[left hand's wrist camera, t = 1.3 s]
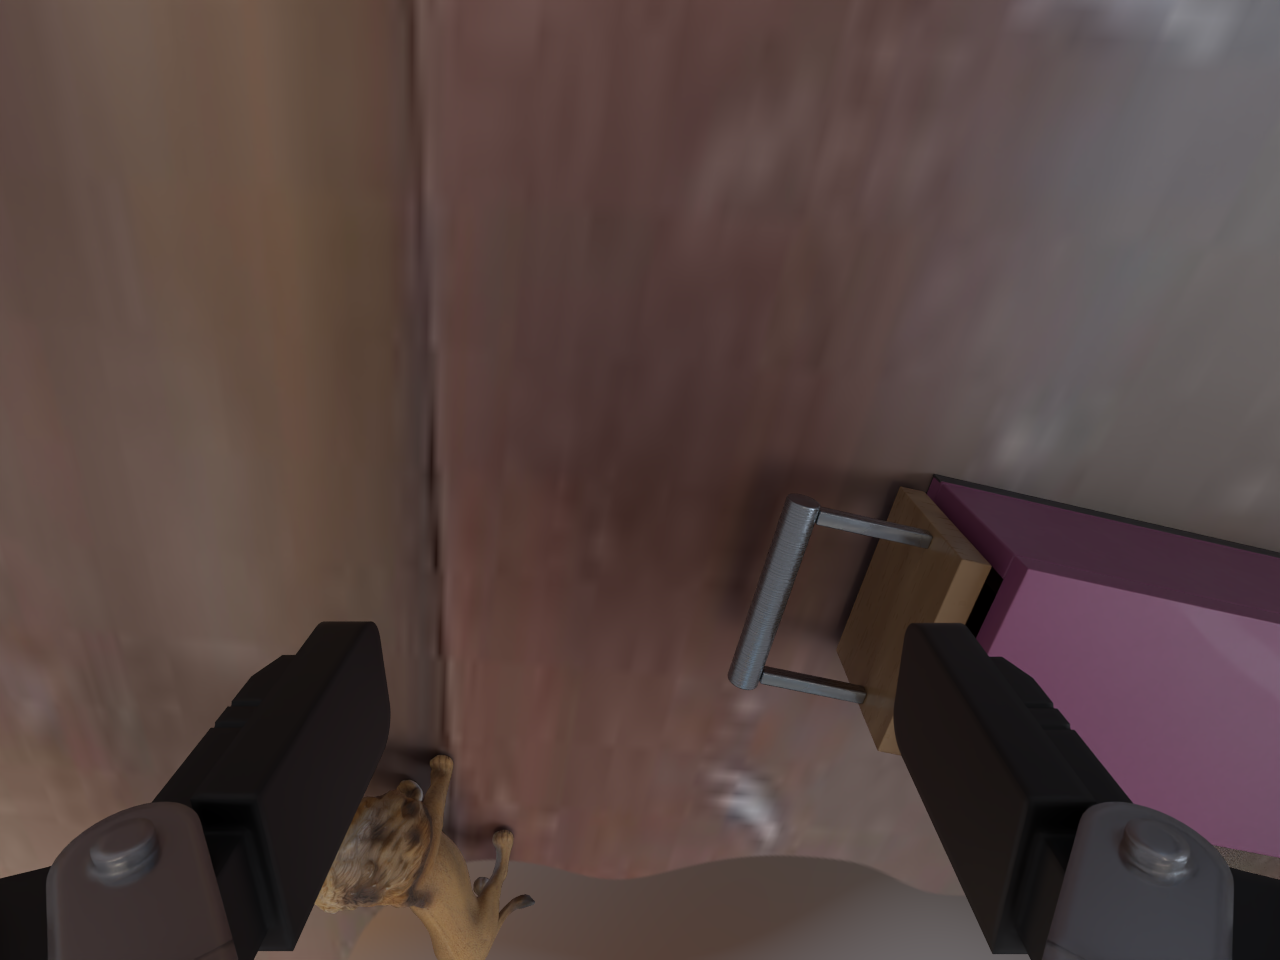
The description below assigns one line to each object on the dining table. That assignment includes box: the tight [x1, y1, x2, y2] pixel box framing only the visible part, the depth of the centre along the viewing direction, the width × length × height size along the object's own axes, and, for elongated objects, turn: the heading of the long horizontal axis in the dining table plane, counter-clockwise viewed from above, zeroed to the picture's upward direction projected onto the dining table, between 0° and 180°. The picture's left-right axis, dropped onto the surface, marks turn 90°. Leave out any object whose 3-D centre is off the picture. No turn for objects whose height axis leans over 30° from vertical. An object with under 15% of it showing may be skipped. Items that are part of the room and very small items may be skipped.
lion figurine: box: [315, 755, 535, 960], centre depth 38 cm, size 15×5×9 cm, turn 35°
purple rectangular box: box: [927, 474, 1280, 858], centre depth 33 cm, size 21×10×9 cm, turn 77°
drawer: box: [728, 487, 1003, 755], centre depth 33 cm, size 26×9×7 cm, turn 77°
